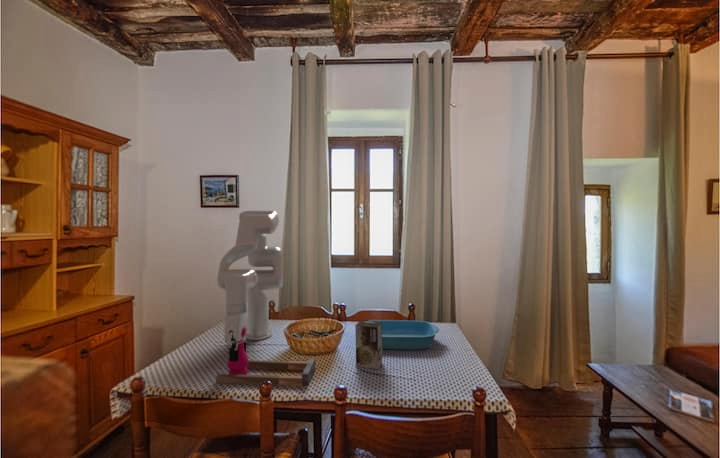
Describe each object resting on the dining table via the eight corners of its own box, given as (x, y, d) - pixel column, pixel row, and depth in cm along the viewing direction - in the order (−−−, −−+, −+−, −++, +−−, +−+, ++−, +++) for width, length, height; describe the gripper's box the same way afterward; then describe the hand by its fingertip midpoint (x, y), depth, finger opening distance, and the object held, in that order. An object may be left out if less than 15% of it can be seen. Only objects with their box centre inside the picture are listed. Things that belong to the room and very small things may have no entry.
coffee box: (382, 362, 132) (382, 321, 131) (378, 369, 126) (378, 327, 125) (360, 359, 135) (360, 319, 134) (355, 366, 128) (355, 324, 128)
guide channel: (232, 366, 129) (232, 355, 129) (315, 368, 127) (315, 357, 127) (216, 383, 116) (215, 371, 116) (308, 385, 114) (307, 374, 114)
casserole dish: (355, 351, 143) (354, 334, 143) (359, 332, 166) (359, 318, 165) (443, 353, 141) (443, 336, 140) (435, 334, 163) (435, 320, 163)
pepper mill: (241, 380, 118) (240, 323, 117) (223, 378, 119) (222, 322, 118) (252, 371, 125) (251, 317, 124) (234, 369, 126) (233, 316, 125)
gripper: (237, 301, 130) (237, 347, 131) (215, 314, 113) (216, 367, 113) (256, 301, 129) (256, 347, 130) (236, 314, 112) (237, 368, 113)
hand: (237, 356), depth 122 cm, fingers closed on pepper mill, 5 cm apart
